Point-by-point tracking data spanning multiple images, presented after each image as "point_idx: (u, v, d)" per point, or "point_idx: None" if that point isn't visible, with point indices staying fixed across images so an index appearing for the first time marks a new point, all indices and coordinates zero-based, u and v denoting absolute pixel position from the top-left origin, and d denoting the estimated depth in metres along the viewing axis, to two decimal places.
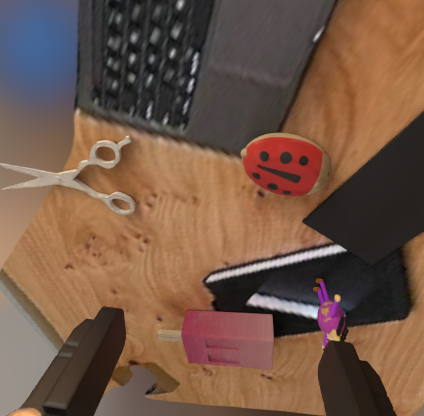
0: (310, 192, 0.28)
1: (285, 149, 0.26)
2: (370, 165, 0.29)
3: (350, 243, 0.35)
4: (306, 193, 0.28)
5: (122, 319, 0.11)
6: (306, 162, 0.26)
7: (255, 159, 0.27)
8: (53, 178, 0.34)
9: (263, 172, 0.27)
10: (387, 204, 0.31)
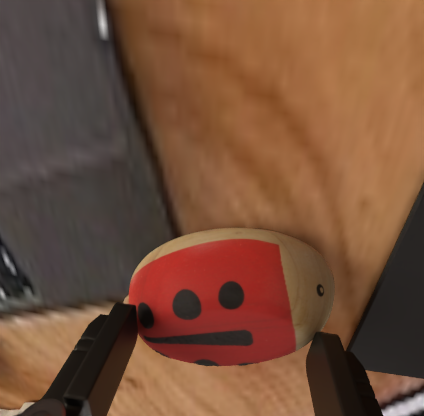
0: (300, 347, 0.11)
1: (178, 285, 0.10)
2: None
3: None
4: (293, 351, 0.11)
5: (135, 315, 0.11)
6: (240, 297, 0.10)
7: None
8: None
9: (164, 347, 0.11)
10: None
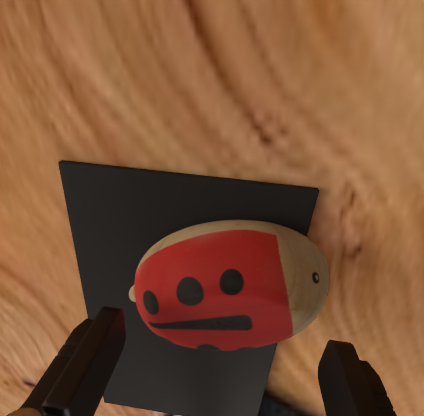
0: (297, 332, 0.11)
1: (182, 273, 0.11)
2: (94, 317, 0.17)
3: (190, 409, 0.21)
4: (290, 336, 0.12)
5: (122, 319, 0.11)
6: (240, 283, 0.10)
7: (142, 311, 0.12)
8: None
9: (168, 333, 0.12)
10: (174, 352, 0.18)
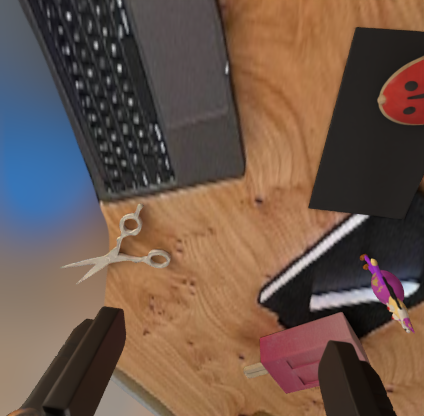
0: None
1: None
2: (332, 133, 0.31)
3: (366, 207, 0.35)
4: None
5: (122, 319, 0.11)
6: None
7: (401, 94, 0.26)
8: (105, 260, 0.43)
9: (417, 101, 0.26)
10: (372, 157, 0.32)
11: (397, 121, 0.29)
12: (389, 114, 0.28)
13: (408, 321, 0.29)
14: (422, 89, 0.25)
